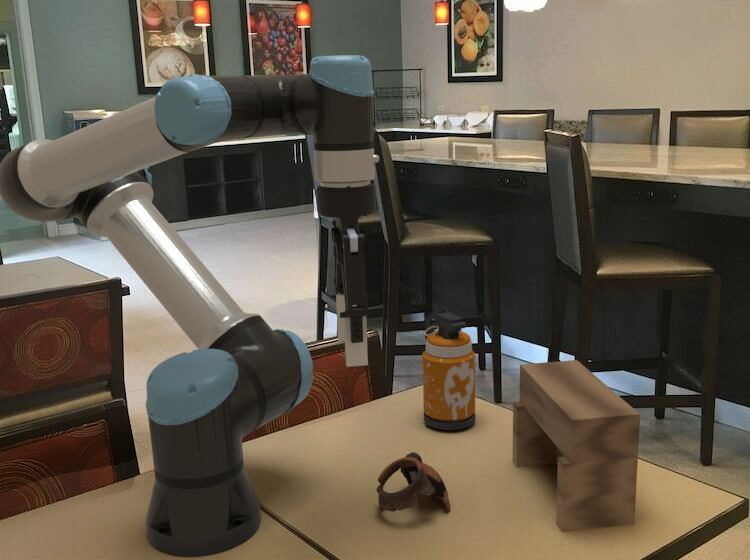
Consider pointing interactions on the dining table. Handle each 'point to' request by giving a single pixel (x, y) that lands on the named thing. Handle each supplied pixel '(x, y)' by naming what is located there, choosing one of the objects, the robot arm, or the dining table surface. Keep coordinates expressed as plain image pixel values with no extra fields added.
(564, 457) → the hutch
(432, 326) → the canister
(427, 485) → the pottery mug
